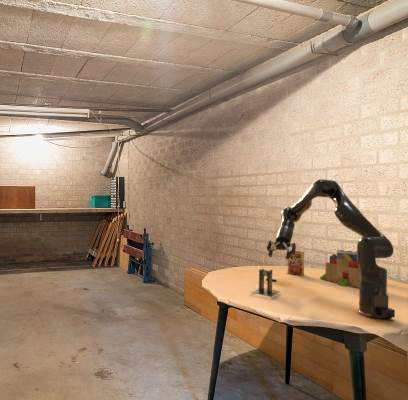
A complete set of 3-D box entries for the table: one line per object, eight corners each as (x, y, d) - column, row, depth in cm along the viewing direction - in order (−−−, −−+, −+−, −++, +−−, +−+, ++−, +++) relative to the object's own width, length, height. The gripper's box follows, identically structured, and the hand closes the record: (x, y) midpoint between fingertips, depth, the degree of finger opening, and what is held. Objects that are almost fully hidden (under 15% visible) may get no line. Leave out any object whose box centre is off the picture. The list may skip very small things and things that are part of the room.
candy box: (287, 273, 226) (287, 250, 226) (289, 272, 229) (289, 249, 229) (302, 275, 219) (302, 252, 219) (304, 274, 222) (304, 251, 222)
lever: (266, 282, 183) (267, 277, 183) (276, 283, 179) (277, 279, 180) (259, 273, 175) (260, 269, 176) (269, 275, 171) (270, 270, 172)
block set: (315, 279, 210) (316, 247, 210) (331, 277, 215) (332, 246, 215) (363, 291, 184) (364, 255, 184) (381, 288, 189) (381, 253, 189)
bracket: (259, 290, 183) (260, 266, 183) (280, 294, 176) (280, 269, 176) (250, 295, 173) (251, 270, 173) (271, 299, 166) (272, 273, 166)
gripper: (270, 230, 200) (263, 251, 192) (297, 231, 191) (291, 254, 182) (273, 238, 204) (266, 260, 196) (299, 240, 195) (293, 263, 186)
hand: (278, 257), depth 189 cm, fingers open, 8 cm apart
